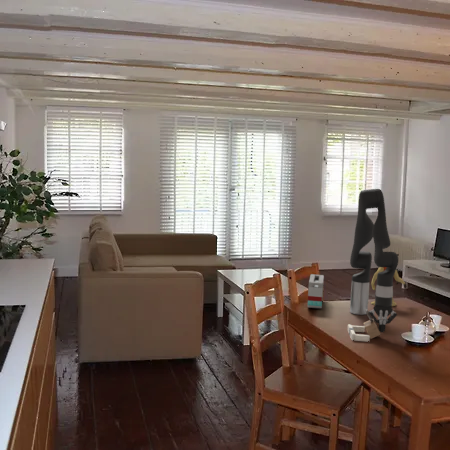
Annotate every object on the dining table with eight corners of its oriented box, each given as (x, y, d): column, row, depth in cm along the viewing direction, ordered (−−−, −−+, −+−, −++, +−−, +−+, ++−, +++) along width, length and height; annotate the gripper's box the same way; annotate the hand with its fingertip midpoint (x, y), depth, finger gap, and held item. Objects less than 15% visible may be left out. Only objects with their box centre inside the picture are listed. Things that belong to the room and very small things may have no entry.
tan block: (369, 334, 253) (357, 311, 252) (378, 329, 252) (367, 307, 251) (370, 338, 246) (358, 315, 246) (380, 334, 245) (369, 311, 245)
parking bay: (347, 330, 257) (347, 323, 257) (364, 331, 257) (364, 324, 256) (351, 340, 243) (352, 333, 242) (369, 341, 242) (369, 334, 242)
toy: (403, 302, 316) (407, 251, 312) (410, 306, 307) (414, 254, 304) (366, 302, 312) (369, 251, 308) (372, 306, 303) (376, 254, 300)
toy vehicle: (323, 297, 320) (324, 272, 319) (321, 310, 291) (323, 283, 289) (309, 296, 322) (310, 271, 320) (306, 309, 293) (308, 282, 291)
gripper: (396, 293, 250) (394, 330, 251) (367, 292, 251) (365, 328, 252) (400, 297, 242) (398, 335, 244) (370, 296, 243) (368, 333, 245)
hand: (381, 331), depth 248 cm, fingers closed
